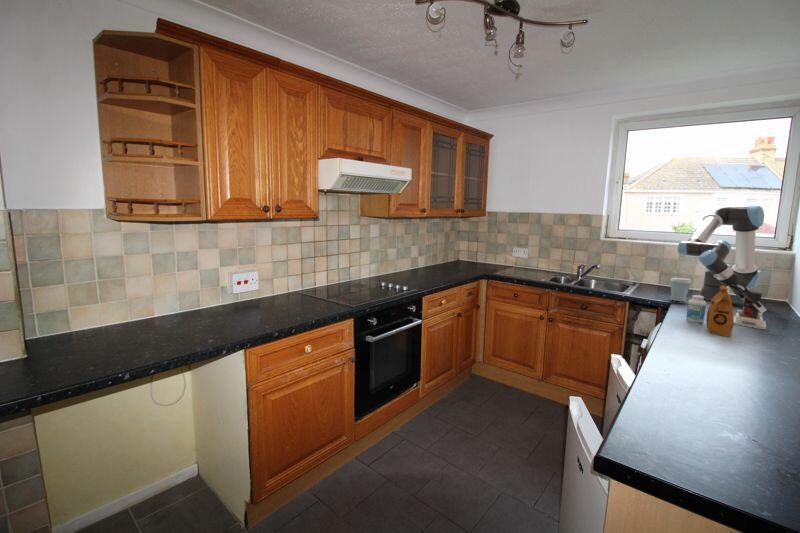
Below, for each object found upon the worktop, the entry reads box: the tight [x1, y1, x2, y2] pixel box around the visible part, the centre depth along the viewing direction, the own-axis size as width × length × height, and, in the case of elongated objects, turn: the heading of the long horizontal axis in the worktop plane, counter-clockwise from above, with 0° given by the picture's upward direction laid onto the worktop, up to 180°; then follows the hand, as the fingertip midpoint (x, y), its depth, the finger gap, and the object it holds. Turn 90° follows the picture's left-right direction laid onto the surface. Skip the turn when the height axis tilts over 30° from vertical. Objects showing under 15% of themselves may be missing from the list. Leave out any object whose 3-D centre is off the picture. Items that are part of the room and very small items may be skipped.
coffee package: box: [705, 286, 735, 338], centre depth 181 cm, size 10×12×22 cm
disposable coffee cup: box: [670, 277, 692, 302], centre depth 241 cm, size 11×11×15 cm
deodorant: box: [741, 290, 763, 319], centre depth 197 cm, size 6×6×15 cm
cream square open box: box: [733, 309, 767, 331], centre depth 197 cm, size 14×13×5 cm
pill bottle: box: [685, 294, 707, 324], centre depth 199 cm, size 8×7×14 cm
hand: (758, 309), depth 196 cm, fingers open, 8 cm apart
